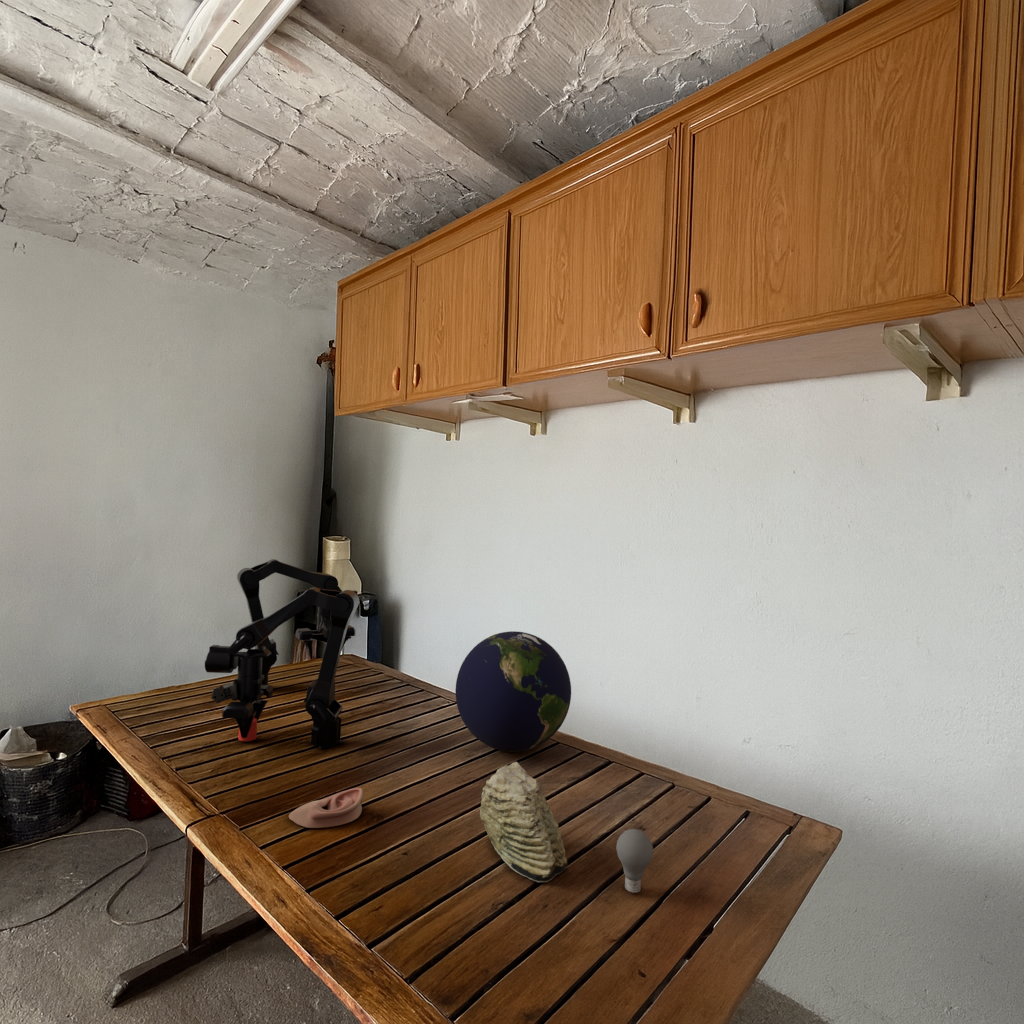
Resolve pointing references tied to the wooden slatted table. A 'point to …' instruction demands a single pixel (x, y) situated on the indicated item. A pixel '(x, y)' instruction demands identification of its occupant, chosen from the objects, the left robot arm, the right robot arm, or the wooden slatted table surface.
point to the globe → (513, 691)
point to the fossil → (522, 824)
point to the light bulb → (634, 857)
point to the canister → (250, 732)
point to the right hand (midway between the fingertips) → (247, 734)
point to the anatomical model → (330, 810)
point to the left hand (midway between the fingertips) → (325, 657)
